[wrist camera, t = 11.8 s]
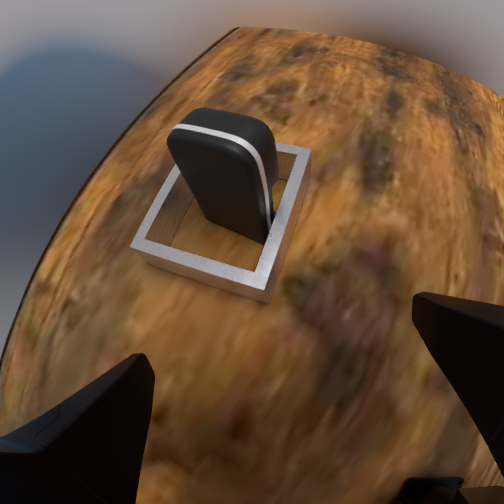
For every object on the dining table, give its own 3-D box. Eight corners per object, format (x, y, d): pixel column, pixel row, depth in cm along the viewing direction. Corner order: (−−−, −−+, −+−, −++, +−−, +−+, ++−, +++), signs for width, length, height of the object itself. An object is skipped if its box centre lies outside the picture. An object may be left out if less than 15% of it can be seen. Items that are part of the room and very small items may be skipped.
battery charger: (288, 213, 25) (281, 113, 15) (269, 248, 24) (249, 154, 14) (224, 188, 28) (189, 96, 17) (203, 219, 26) (155, 130, 16)
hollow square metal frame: (310, 177, 27) (311, 148, 23) (268, 304, 22) (263, 290, 19) (206, 158, 30) (195, 132, 26) (150, 264, 25) (129, 246, 22)
